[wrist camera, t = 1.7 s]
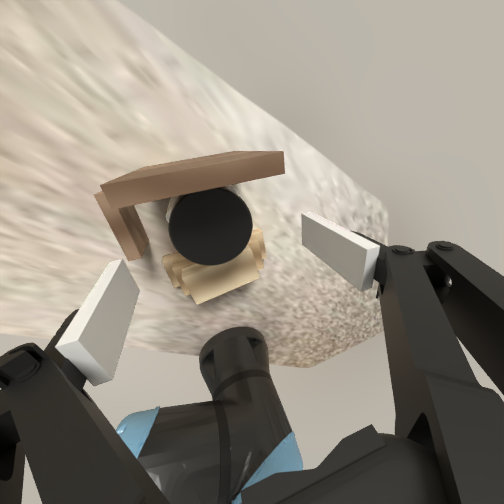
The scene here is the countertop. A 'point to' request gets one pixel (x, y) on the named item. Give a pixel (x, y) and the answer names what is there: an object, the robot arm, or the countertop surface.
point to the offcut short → (220, 276)
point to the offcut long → (170, 258)
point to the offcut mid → (184, 263)
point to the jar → (209, 225)
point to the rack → (176, 188)
